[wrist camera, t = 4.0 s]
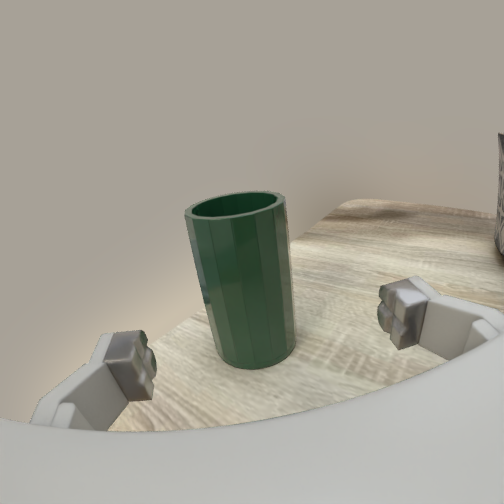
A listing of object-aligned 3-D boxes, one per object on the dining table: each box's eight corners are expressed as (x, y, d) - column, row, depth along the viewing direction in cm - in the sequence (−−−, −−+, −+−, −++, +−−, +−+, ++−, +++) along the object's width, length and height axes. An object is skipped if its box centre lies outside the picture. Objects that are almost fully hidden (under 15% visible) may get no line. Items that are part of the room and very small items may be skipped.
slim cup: (244, 382, 21) (211, 227, 16) (203, 339, 26) (171, 209, 21) (312, 341, 24) (305, 197, 19) (265, 309, 29) (248, 187, 24)
